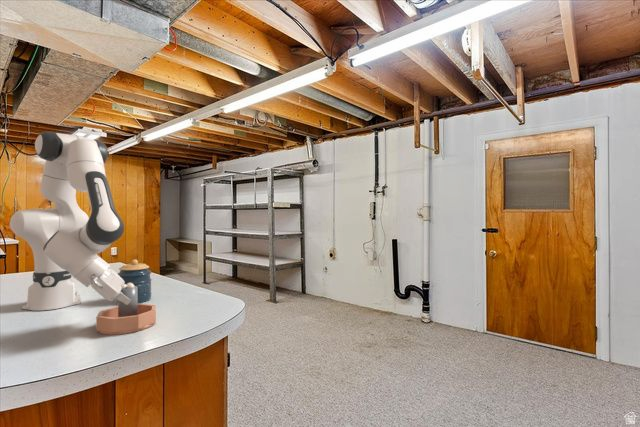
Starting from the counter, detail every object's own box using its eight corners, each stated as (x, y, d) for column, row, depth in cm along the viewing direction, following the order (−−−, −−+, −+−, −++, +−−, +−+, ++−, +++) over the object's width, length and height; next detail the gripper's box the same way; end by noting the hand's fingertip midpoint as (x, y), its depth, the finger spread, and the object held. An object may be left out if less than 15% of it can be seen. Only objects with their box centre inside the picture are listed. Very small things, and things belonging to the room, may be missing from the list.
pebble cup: (119, 314, 110) (119, 282, 110) (137, 311, 112) (137, 281, 112) (117, 318, 105) (117, 285, 105) (137, 316, 107) (137, 284, 108)
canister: (150, 295, 150) (150, 256, 150) (152, 302, 139) (152, 260, 139) (116, 299, 143) (117, 258, 143) (116, 306, 132) (116, 262, 132)
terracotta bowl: (101, 322, 112) (102, 307, 112) (155, 315, 120) (155, 301, 120) (93, 338, 98) (93, 321, 98) (155, 329, 105) (155, 313, 105)
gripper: (98, 270, 96) (136, 299, 101) (107, 261, 115) (139, 287, 119) (79, 286, 94) (119, 316, 99) (91, 275, 113) (124, 300, 117)
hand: (130, 300), depth 109 cm, fingers closed on pebble cup, 5 cm apart
